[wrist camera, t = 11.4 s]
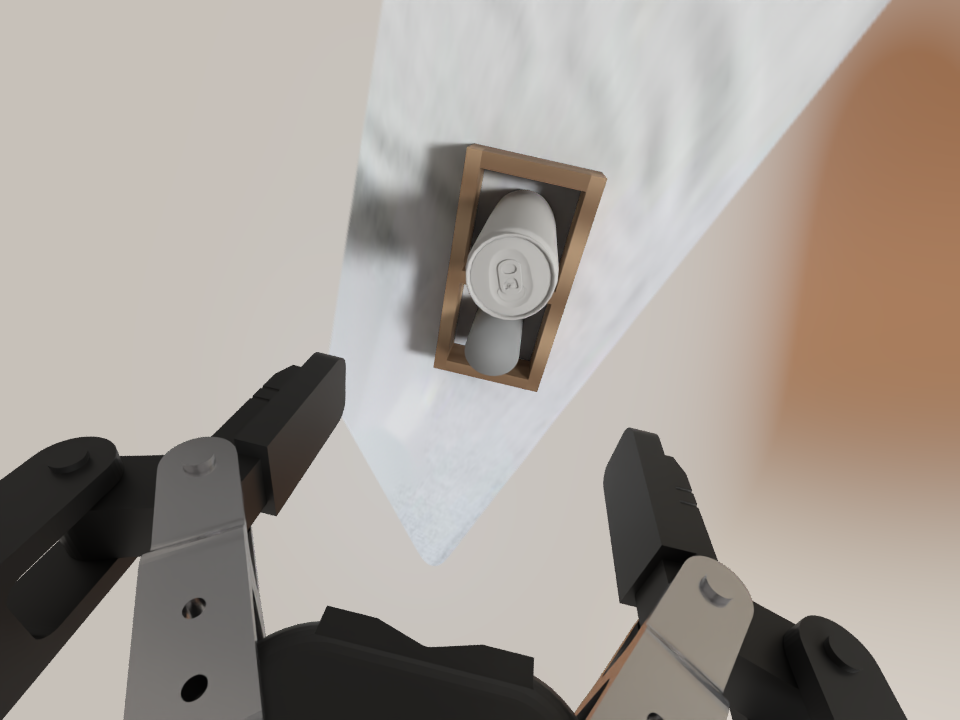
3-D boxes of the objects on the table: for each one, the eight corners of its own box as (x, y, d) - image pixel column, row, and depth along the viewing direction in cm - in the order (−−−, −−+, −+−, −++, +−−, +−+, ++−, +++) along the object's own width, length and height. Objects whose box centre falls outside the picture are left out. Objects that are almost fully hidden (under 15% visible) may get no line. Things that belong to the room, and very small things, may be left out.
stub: (481, 290, 34) (469, 322, 29) (528, 301, 34) (525, 335, 29) (472, 332, 36) (460, 368, 31) (517, 342, 36) (512, 381, 31)
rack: (474, 143, 29) (466, 147, 26) (602, 172, 28) (607, 178, 26) (441, 349, 38) (433, 367, 35) (537, 372, 37) (536, 392, 35)
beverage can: (494, 257, 32) (470, 325, 22) (486, 192, 30) (454, 236, 20) (557, 251, 32) (561, 319, 21) (553, 183, 29) (556, 224, 19)
